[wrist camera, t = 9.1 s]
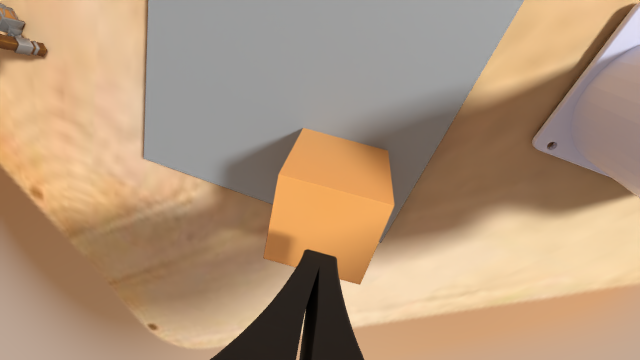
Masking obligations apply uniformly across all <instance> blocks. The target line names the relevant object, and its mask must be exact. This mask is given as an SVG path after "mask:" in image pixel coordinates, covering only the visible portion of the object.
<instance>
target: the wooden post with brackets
mask: <svg viewBox="0 0 640 360" xmlns="http://www.w3.org/2000/svg"><path fill="white" fill-rule="evenodd" d="M24 23H25V22H24V21H19V20H18V18H17V16H16V14H15V12H14V11H13V9H12V8H9V7H6V6H5V5H3V4H1V3H0V31H2V32H7V33H8V36H5V35H2V34H0V48H2V49H7V50H13V51H15V53H19V54H25V55H30V54H33V55H39V56H44V55H45V53H46V51H47V49H46V47H45V46H44V44H43V43H38V42H36V41H30V40H29V39H27V38H22V36H21V33H22V31H21V30H22V27H23V25H24ZM9 36H13V37H9Z"/></svg>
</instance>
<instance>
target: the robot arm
mask: <svg viewBox="0 0 640 360" xmlns="http://www.w3.org/2000/svg"><path fill="white" fill-rule="evenodd" d="M550 142H554V143H553V145H552V146H551V147H547V145H548V144H549V143H550ZM532 145H533V147H535V148H536V149H537V150H539V151H542V152H545V153H547V154H550V155H553V156H555V157H558V158H561V159H563V160H566V161H569V162H571V163H574V164H576V165H579V166H582V167H584V168H587V169H590V170H592V171H595V172H598V173H600V174H603V175H606V176H608V177H611V178H613V179H614V180H616V181H617V182H618V183H620V184H621V185H623V186H624V187H625V188H627V189H628V190H629V191H631V192H632V193H634V194H635V195H636V196H638V197H639V198H640V2H639V3H638V4H636V5H635V6H634V7H633V8H632V9H631V10H630V12H629V13H628V14H627V16H626V17H625V18H624V20H623V21H622V22H621V24H620V25H619V26H618V27H617V29H616V30H615V31H614V33H613V34H612V35H611V37H610V38H609V39H608V41H607V42H606V43H605V45H604V46H603V47H602V48H601V50H600V51H599V52H598V54H597V55H596V56H595V58H594V59H593V60H592V62H591V63H590V64H589V66H588V67H587V68H586V70H585V71H584V72H583V73H582V75H581V76H580V77H579V79H578V80H577V81H576V83H575V84H574V85H573V87H572V88H571V89H570V91H569V92H568V93H567V94H566V96H565V97H564V98H563V100H562V101H561V102H560V104H559V105H558V106H557V108H556V109H555V110H554V112H553V113H552V114H551V115H550V117H549V118H548V119H547V121H546V122H545V123H544V125H543V126H542V127H541V129H540V130H539V131H538V133H537V134H536V135H535V137H534V138H533V140H532ZM305 310H306V312H305ZM304 314H305V320H304V327H303V335H302V344H301V351H300V359H299V360H364V358H363V355H362V353H361V351H360V348H359V346H358V343H357V341H356V338H355V335H354V332H353V330H352V327H351V324H350V320H349V317H348V314H347V310H346V307H345V303H344V299H343V295H342V290H341V286H340V280H339V274H338V266H337V258H336V257H335V256H331V255H327V254H324V253H320V252H317V251H313V250H309V249H306V250H304V253H303V256H302V258H301V260H300V262H299V264H298V266H297V267H296V269H295V271H294V272H293V274H292V275H291V277H290V278H289V280H288V281H287V282H286V284H285V285H284V287H283V288H282V289H281V291H280V292H279V293H278V294H277V296H276V297H275V298H274V299H273V301H272V302H271V303H270V304H269V305H268V306H267V308H266V309H265V310H264V311H263V312H262V313H261V314H260V315H259V316H258V317H257V318H256V319H255V320H254V321H253V322H252V323H251V324H250V325H249V326H248V327H247V328H246V329H245V330H244V331H243V332H242V333H241V334H240V335H239V336H238V337H237V338H235V339H234V340H233V341H232V342H231V343H230V344H228V345H227V346H226V347H225V348H224V349H223V350H222V351H221V352H219V353H218V354H217V355H215V356H214V357H213V358H211V359H210V360H296V356H297V350H298V344H299V340H300V335H301V329H302V324H303V319H304Z"/></svg>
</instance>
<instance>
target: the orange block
mask: <svg viewBox="0 0 640 360" xmlns="http://www.w3.org/2000/svg"><path fill="white" fill-rule="evenodd" d="M394 206H395V205H394V197H393V188H392V180H391V171H390V163H389V154H388V150H384V149H380V148H376V147H373V146H369V145H365V144H362V143H358V142H354V141H350V140H347V139H343V138H339V137H336V136H332V135H328V134H324V133H321V132H317V131H313V130H310V129H306V128H303V129H302V131H301V133H300V135H299V137H298V139H297V141H296V143H295V144H294V146H293V148H292V150H291V152H290V154H289V156H288V157H287V159H286V161H285V163H284V165H283V167H282V169H281V171H280V172H279V175H278V180H277V186H276V191H275V197H274V202H273V208H272V213H271V219H270V224H269V230H268V235H267V241H266V246H265V252H264V257H263V258H264V259H268V260H271V261H275V262H279V263H282V264H286V265H290V266H293V267H297V266H298V264H299V262H300V260H301V258H302V256H303V253H304V250H306V249H309V250H313V251H317V252H320V253H324V254H327V255H331V256H335V257H336V258H337V266H338V274H339V279H341V280H345V281H348V282H352V283H356V284H359V285H360V284H361V281H362V279H363V277H364V275H365V272H366V270H367V268H368V265H369V263H370V261H371V258H372V256H373V254H374V252H375V249H376V247H377V245H378V242H379V240H380V238H381V235H382V233H383V231H384V229H385V226H386V224H387V222H388V219H389V217H390V215H391V212H392V210H393V208H394Z"/></svg>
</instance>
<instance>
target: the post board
mask: <svg viewBox="0 0 640 360" xmlns="http://www.w3.org/2000/svg"><path fill="white" fill-rule="evenodd" d="M523 1H524V0H148V31H147V66H146V100H145V135H144V159H147V160H149V161H152V162H155V163H158V164H161V165H163V166H166V167H169V168H172V169H175V170H177V171H180V172H183V173H186V174H189V175H192V176H194V177H197V178H200V179H203V180H206V181H208V182H211V183H214V184H217V185H220V186H222V187H225V188H228V189H231V190H234V191H236V192H239V193H242V194H245V195H248V196H250V197H253V198H256V199H259V200H262V201H265V202H267V203H270V204H273V202H274V197H275V191H276V186H277V180H278V175H279V172H280V171H281V169H282V167H283V165H284V163H285V161H286V159H287V157H288V156H289V154H290V152H291V150H292V148H293V146H294V144H295V143H296V141H297V139H298V137H299V135H300V133H301V131H302V129H303V128H306V129H310V130H313V131H317V132H321V133H324V134H328V135H332V136H336V137H339V138H343V139H347V140H350V141H354V142H358V143H362V144H365V145H369V146H373V147H376V148H380V149H384V150H388V154H389V163H390V171H391V180H392V188H393V197H394V205H395V206H394V208H393V210H392V212H391V215H390V217H389V219H388V222H387V224H386V226H385V229H384V231H383V233H382V235H381V238H380V240H379V242H380V243H381V242H382V240H383V238H384V237H385V235H386V233H387V232H388V230H389V228H390V227H391V225H392V223H393V221H394V220H395V218H396V216H397V215H398V213H399V211H400V210H401V208H402V206H403V205H404V203H405V201H406V199H407V198H408V196H409V194H410V193H411V191H412V189H413V188H414V186H415V184H416V182H417V181H418V179H419V177H420V176H421V174H422V172H423V171H424V169H425V167H426V166H427V164H428V162H429V160H430V159H431V157H432V155H433V154H434V152H435V150H436V149H437V147H438V145H439V144H440V142H441V140H442V138H443V137H444V135H445V133H446V132H447V130H448V128H449V127H450V125H451V123H452V122H453V120H454V118H455V116H456V115H457V113H458V111H459V110H460V108H461V106H462V105H463V103H464V101H465V100H466V98H467V96H468V94H469V93H470V91H471V89H472V88H473V86H474V84H475V83H476V81H477V79H478V78H479V76H480V74H481V72H482V71H483V69H484V67H485V66H486V64H487V62H488V61H489V59H490V57H491V55H492V54H493V52H494V50H495V49H496V47H497V45H498V44H499V42H500V40H501V39H502V37H503V35H504V33H505V32H506V30H507V28H508V27H509V25H510V23H511V22H512V20H513V18H514V17H515V15H516V13H517V11H518V10H519V8H520V6H521V5H522V3H523Z"/></svg>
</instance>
